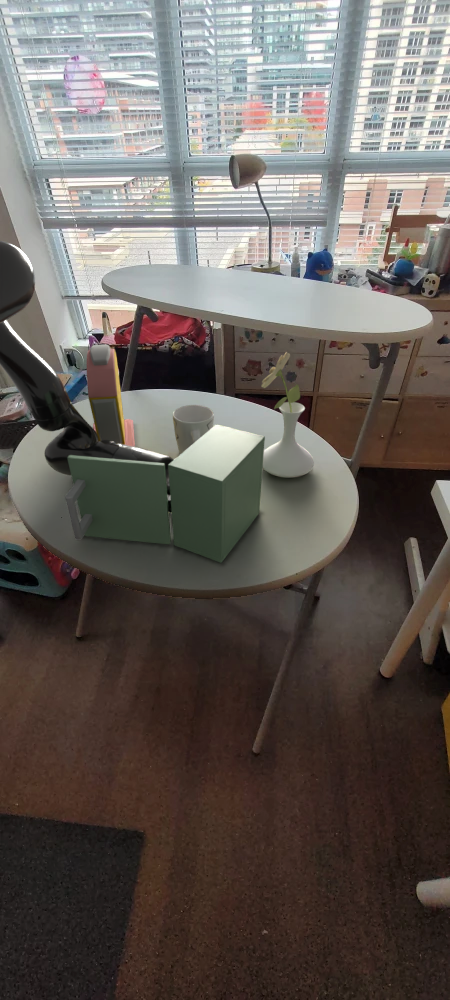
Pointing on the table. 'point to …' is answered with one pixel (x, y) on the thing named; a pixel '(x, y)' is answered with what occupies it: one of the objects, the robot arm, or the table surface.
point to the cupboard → (216, 490)
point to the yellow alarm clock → (107, 396)
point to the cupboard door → (119, 499)
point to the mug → (191, 424)
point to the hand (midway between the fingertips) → (225, 496)
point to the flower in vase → (287, 433)
